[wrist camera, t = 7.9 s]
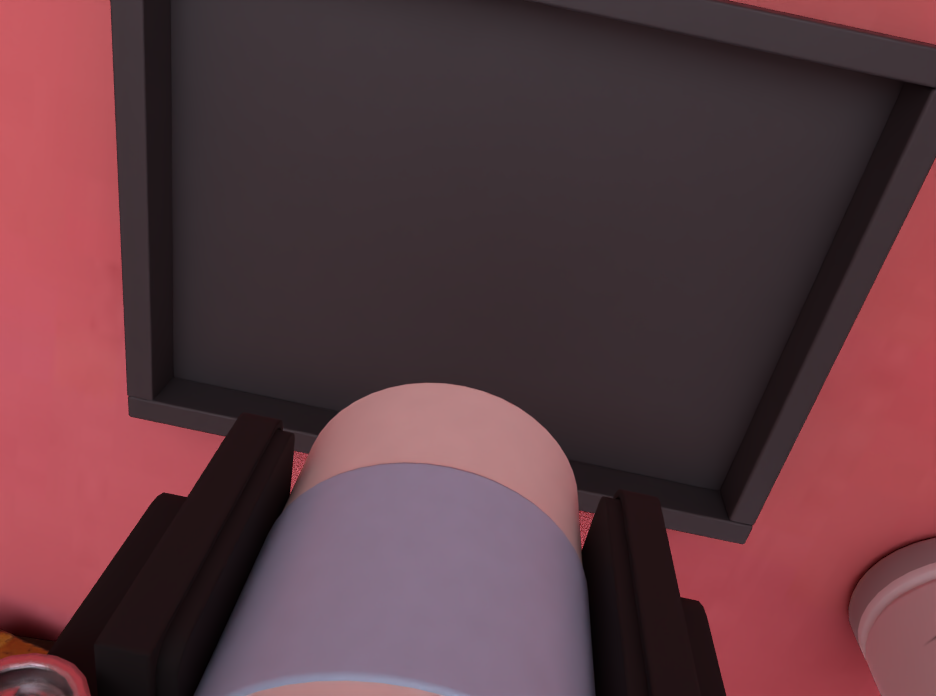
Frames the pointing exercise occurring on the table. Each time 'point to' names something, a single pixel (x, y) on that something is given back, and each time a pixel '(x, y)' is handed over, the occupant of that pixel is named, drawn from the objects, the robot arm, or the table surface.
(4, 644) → the decorative figurine
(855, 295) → the desk tray
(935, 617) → the travel mug
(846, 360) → the table surface
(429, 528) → the pill bottle
